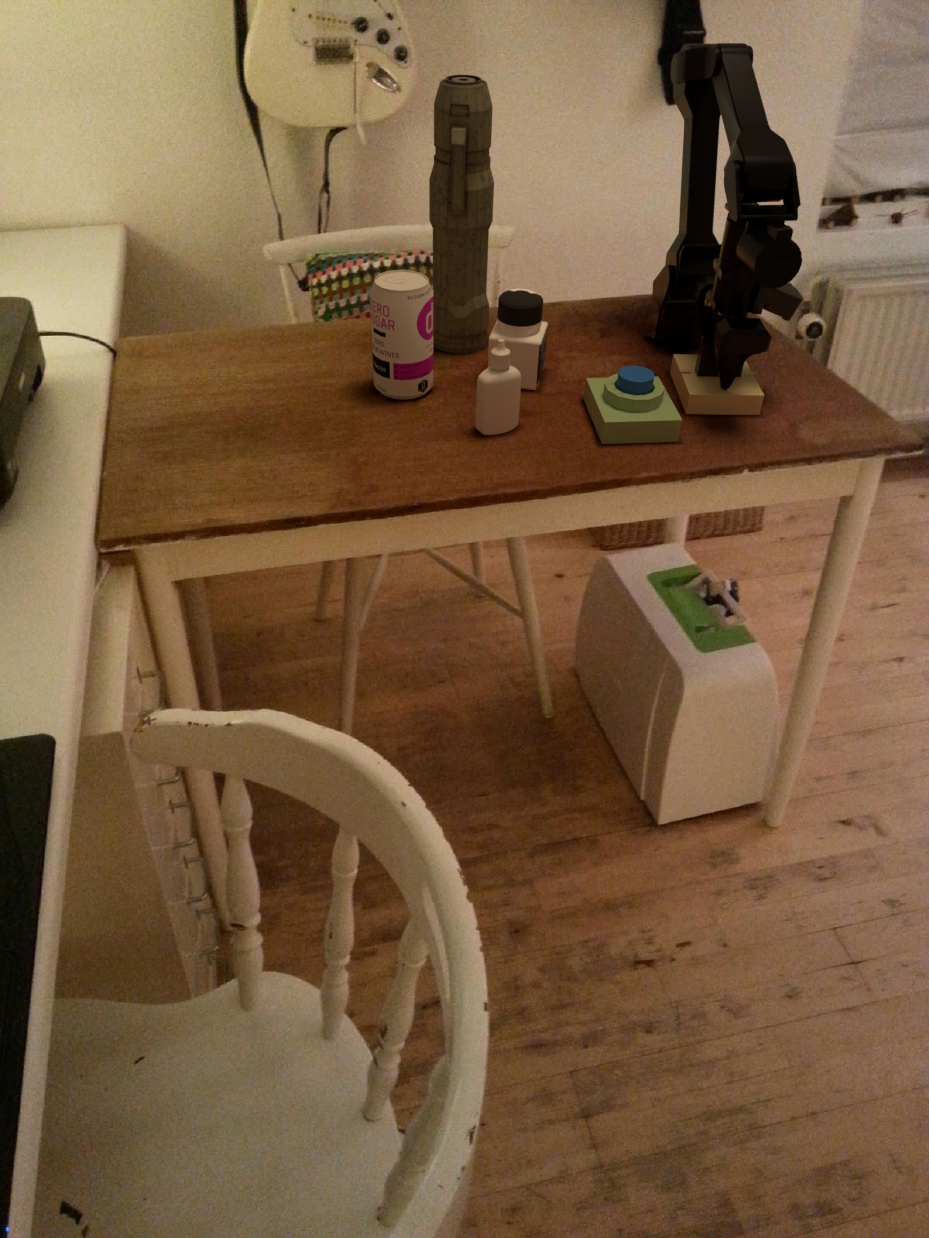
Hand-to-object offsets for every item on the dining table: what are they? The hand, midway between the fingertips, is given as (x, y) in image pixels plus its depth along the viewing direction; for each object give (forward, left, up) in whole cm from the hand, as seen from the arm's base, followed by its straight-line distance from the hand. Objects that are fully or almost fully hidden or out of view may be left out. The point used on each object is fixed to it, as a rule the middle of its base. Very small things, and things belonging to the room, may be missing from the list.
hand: (717, 372), depth 130 cm
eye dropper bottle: (-9, -31, -3) cm, 32 cm away
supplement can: (-25, -35, -3) cm, 43 cm away
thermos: (-33, -20, -3) cm, 39 cm away
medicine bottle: (-19, -20, -3) cm, 28 cm away
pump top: (-1, -15, +1) cm, 15 cm away
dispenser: (-1, -15, -3) cm, 15 cm away
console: (0, 0, -3) cm, 3 cm away
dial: (0, 0, 0) cm, 0 cm away
